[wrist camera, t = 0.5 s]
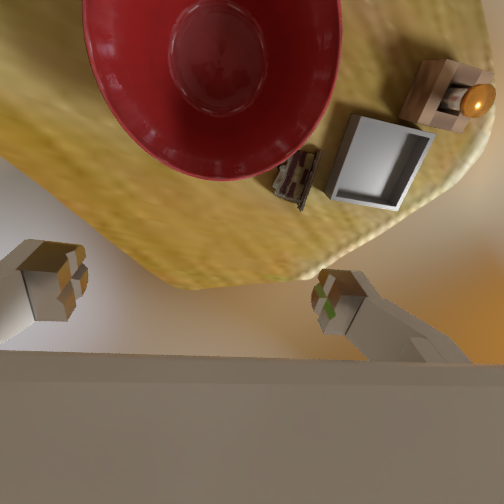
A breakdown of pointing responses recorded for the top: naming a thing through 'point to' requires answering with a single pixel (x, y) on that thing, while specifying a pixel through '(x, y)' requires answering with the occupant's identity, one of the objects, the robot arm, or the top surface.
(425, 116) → the hitch block
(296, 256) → the top surface
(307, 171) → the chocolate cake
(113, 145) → the top surface
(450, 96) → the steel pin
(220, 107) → the mixing bowl
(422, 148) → the tray
